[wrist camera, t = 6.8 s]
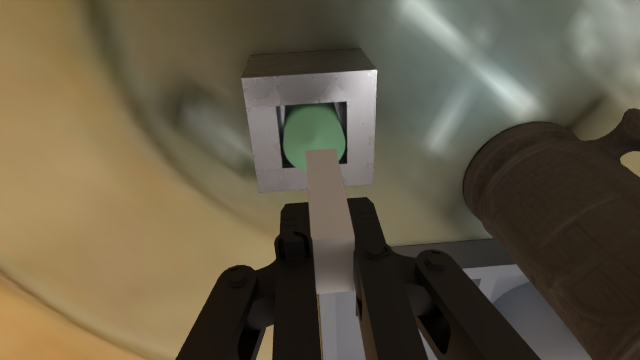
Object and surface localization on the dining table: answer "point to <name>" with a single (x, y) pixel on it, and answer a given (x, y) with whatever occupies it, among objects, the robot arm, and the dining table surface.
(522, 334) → the white piece
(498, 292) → the tray
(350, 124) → the grey square hollow block
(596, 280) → the beer stein
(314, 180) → the robot arm
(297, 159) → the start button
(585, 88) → the dining table surface
